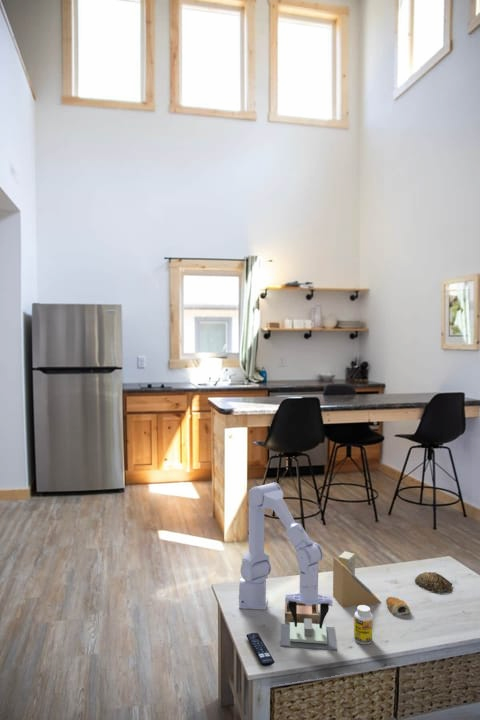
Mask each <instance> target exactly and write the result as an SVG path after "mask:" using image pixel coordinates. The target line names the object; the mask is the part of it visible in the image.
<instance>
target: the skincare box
mask: <svg viewBox="0 0 480 720" xmlns="http://www.w3.org/2000/svg"><path fill="white" fill-rule="evenodd" d="M337 559H338V560H339V561H340V562H341V563H342V564H343V565H345V566H346V567H347V568H348V569H349V570H350V571H351V572H352V573H353V574H354V575H355V576H356V553H353V552H349V551H346V550H345V551H343V552H342V553H341V554H340V555H339V556H338V557H337Z"/></svg>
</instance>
